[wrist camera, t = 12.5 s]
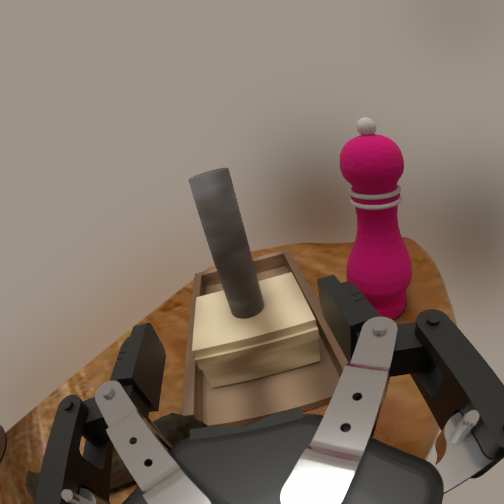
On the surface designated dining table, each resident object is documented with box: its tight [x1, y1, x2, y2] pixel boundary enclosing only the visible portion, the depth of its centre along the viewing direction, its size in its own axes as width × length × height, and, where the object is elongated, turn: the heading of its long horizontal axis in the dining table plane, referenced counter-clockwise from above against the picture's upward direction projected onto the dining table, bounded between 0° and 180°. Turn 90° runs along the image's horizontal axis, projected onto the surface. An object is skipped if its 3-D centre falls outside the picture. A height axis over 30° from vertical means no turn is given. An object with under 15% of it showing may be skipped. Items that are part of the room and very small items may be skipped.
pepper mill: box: [340, 118, 412, 320], centre depth 25 cm, size 7×7×20 cm
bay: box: [182, 249, 348, 427], centre depth 30 cm, size 14×24×3 cm, turn 7°
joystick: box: [189, 168, 321, 388], centre depth 23 cm, size 10×8×17 cm
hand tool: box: [25, 413, 208, 503], centre depth 14 cm, size 19×4×5 cm, turn 121°
